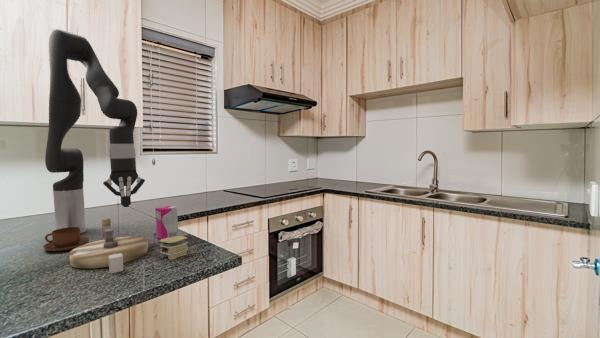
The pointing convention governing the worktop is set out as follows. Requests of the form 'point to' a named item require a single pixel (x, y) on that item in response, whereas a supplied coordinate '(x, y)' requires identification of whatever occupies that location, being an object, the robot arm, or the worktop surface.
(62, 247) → the cup and saucer
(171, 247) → the beige layered block
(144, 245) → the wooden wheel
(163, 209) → the supplement box
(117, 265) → the white block
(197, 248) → the worktop surface
